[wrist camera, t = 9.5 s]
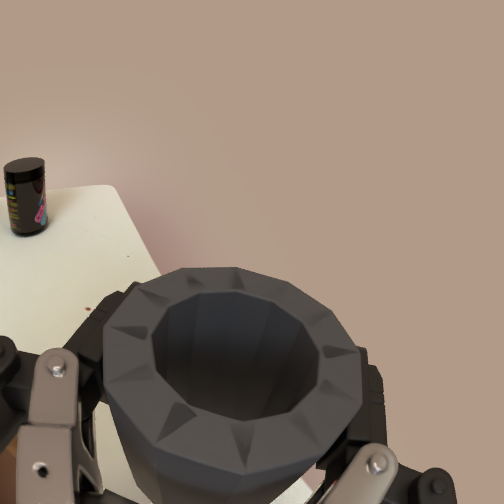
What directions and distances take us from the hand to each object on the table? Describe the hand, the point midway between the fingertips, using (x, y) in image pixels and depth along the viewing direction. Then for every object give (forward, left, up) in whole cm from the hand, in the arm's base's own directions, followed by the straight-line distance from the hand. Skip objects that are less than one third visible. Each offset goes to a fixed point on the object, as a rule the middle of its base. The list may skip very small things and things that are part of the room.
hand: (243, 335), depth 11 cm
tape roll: (0, +2, -6) cm, 6 cm away
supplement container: (+37, -23, -18) cm, 47 cm away
